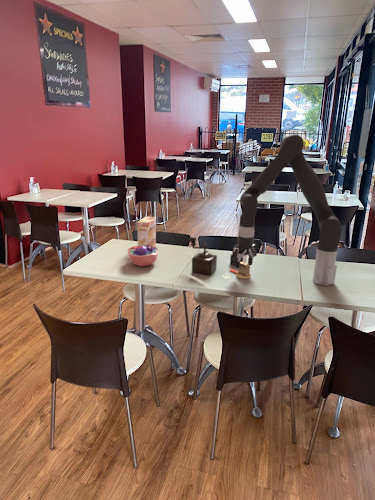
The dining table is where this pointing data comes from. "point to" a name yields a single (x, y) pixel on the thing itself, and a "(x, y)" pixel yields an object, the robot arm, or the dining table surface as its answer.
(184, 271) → the dining table surface
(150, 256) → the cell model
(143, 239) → the coffeecake box
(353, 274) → the dining table surface
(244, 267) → the brown block with rod
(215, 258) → the pepper mill
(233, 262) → the medicine bottle
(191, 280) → the dining table surface
